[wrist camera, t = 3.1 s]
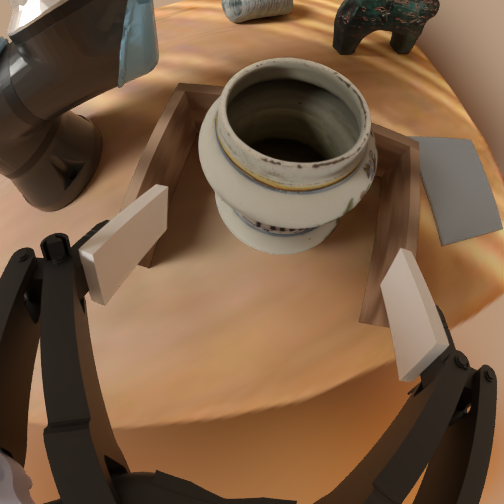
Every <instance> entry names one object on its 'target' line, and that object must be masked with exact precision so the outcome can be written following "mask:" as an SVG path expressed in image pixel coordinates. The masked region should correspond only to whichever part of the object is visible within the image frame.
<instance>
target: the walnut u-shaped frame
mask: <svg viewBox="0 0 504 504" xmlns="http://www.w3.org/2000/svg"><path fill="white" fill-rule="evenodd" d="M223 89H224V87H219V86H210V85H199V84H186V83H179V84H178V86H177V87H176V89H175V91H174V93H173V94H172V96H171V98H170V100H169V102H168V104H167V105H166V107H165V109H164V111H163V113H162V115H161V117H160V119H159V121H158V123H157V125H156V127H155V129H154V131H153V133H152V135H151V137H150V139H149V141H148V143H147V145H146V147H145V150H144V152H143V154H142V156H141V159H140V161H139V163H138V166H137V168H136V170H135V173H134V175H133V177H132V180H131V182H130V185H129V187H128V190H127V193H126V195H125V198H124V201H123V203H122V206H121V209H120V212H121V211H123V210H124V209H125V208H126V207H127V206H129V205H130V204H131V203H132V202H134V201H135V200H136V199H137V198H139V197H140V196H141V195H143V194H144V193H145V192H146V191H148V190H149V189H150V188H152V187H153V186H154V185H156V184H158V185H163V186H168V205H167V210H168V207H169V204H170V201H171V199H172V196H173V193H174V190H175V187H176V185H177V182H178V179H179V177H180V174H181V171H182V169H183V166H184V164H185V161H186V159H187V156H188V154H189V151H190V149H191V146H192V144H193V141H194V139H195V137H196V134H197V132H200V129H201V126H202V123H203V120H204V118H205V116H206V114H207V112H208V110H209V109H210V107H211V106H212V105H213V103H214V102H215V101H216V100H217V99H218V98H219V97H220V96H221V94H222V91H223ZM371 128H372V130H373V133H374V136H375V140H376V144H377V168H376V173H375V175H376V176H379V177H381V185H380V197H379V207H378V216H377V225H376V233H375V240H374V247H373V253H372V259H371V265H370V271H369V276H368V282H367V287H366V292H365V297H364V301H363V306H362V310H361V315H360V319H359V322H361V323H366V324H371V325H377V326H382V327H388V328H390V325H389V320H388V316H387V311H386V307H385V303H384V298H383V294H382V290H381V286H380V284H381V283H382V281H383V279H384V277H385V276H386V274H387V272H388V270H389V268H390V267H391V265H392V263H393V261H394V259H395V257H396V255H397V254H398V252H399V250H400V248H403V249H406V250H409V251H411V252H412V254H413V256H414V258H415V260H416V251H417V241H418V229H419V212H420V152H419V142H418V141H415V140H413V139H411V138H409V137H406V136H404V135H402V134H399V133H397V132H394V131H392V130H390V129H387V128H384V127H382V126H379V125H377V124H374V123H371ZM120 212H119V213H120ZM157 241H158V240H157ZM157 241H156V243H155V244H154V245H153V246H152V247H151V248H150V250H149V251H148V252H147V253H146V254H145V256H144V257H143V258H142V259H141V260H140V262H139V263H138V264H137V265H140V266H143V267H147V268H150V264H151V261H152V258H153V254H154V251H155V247H156V244H157Z"/></svg>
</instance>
